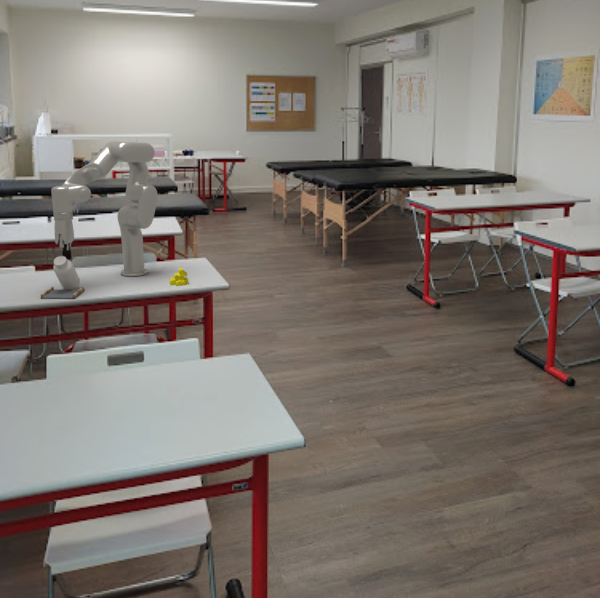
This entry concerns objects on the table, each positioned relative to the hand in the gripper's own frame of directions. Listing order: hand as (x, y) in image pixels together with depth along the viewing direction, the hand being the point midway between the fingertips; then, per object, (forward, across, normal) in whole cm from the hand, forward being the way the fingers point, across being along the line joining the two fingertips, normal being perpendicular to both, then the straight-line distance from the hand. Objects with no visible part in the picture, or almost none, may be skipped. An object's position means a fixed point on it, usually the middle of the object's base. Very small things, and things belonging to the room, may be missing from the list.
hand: (67, 259), depth 289 cm
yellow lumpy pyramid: (+13, -11, +45) cm, 48 cm away
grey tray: (+13, +9, 0) cm, 16 cm away
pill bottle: (+11, -2, 0) cm, 11 cm away
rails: (+13, +9, 0) cm, 16 cm away
